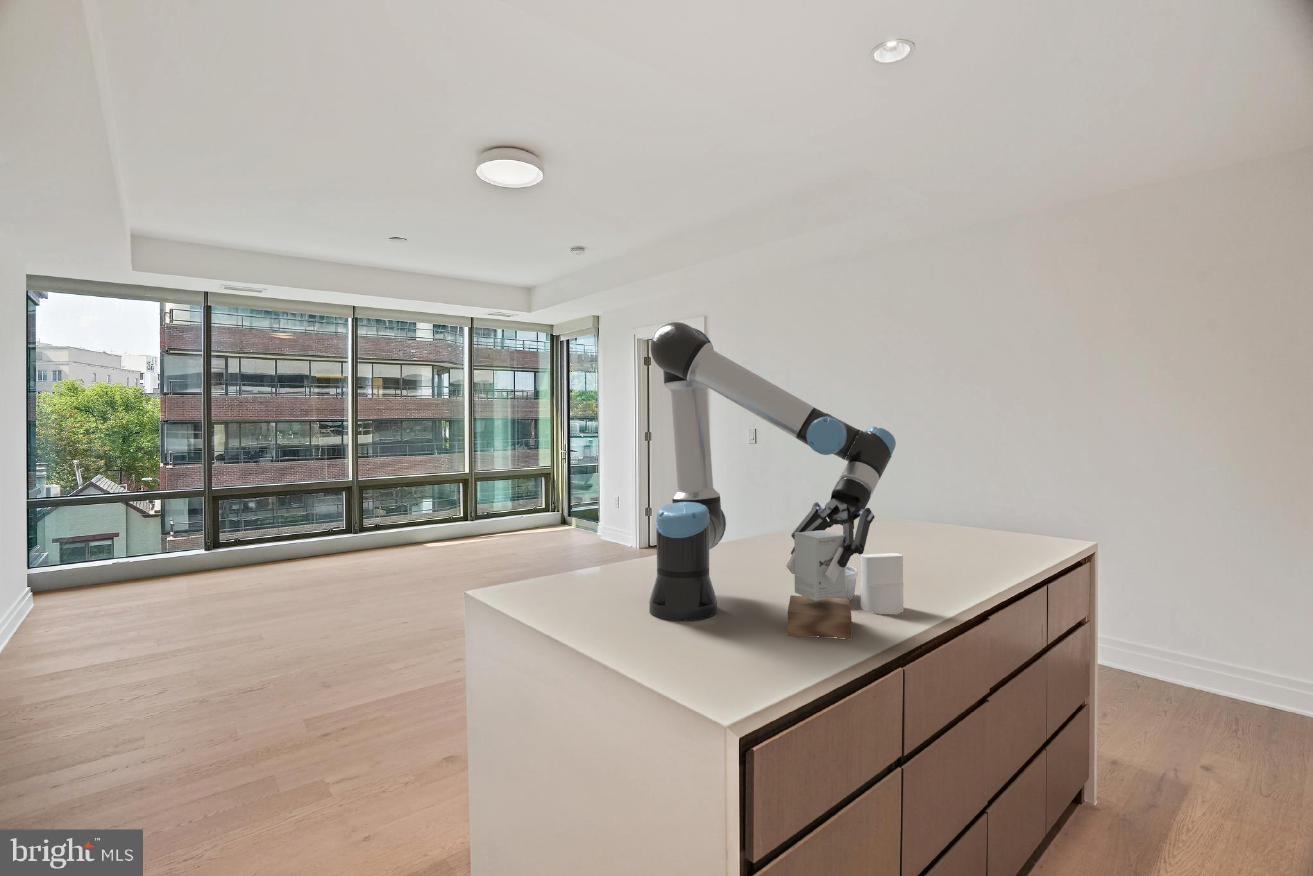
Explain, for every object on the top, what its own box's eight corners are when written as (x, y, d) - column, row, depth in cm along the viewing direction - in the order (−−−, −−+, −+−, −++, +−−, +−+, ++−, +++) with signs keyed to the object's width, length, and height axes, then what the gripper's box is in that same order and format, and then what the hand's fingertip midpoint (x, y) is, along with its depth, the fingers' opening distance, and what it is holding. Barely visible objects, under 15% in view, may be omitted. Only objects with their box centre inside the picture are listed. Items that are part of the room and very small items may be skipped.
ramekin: (864, 605, 146) (864, 575, 146) (806, 605, 147) (806, 575, 147) (848, 590, 160) (848, 562, 159) (795, 590, 160) (795, 562, 160)
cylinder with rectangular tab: (872, 616, 138) (872, 560, 138) (853, 604, 147) (853, 552, 147) (911, 613, 140) (911, 558, 139) (890, 602, 149) (890, 550, 148)
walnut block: (787, 636, 126) (787, 611, 126) (790, 618, 138) (790, 595, 138) (851, 641, 123) (851, 615, 123) (849, 622, 135) (849, 598, 135)
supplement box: (816, 602, 126) (815, 537, 125) (793, 593, 133) (793, 531, 132) (846, 597, 129) (846, 534, 128) (822, 588, 135) (822, 528, 135)
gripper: (908, 504, 132) (865, 595, 122) (820, 495, 148) (775, 575, 138) (894, 480, 128) (849, 572, 118) (805, 473, 145) (759, 554, 135)
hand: (809, 574), depth 128 cm, fingers closed on supplement box, 9 cm apart
